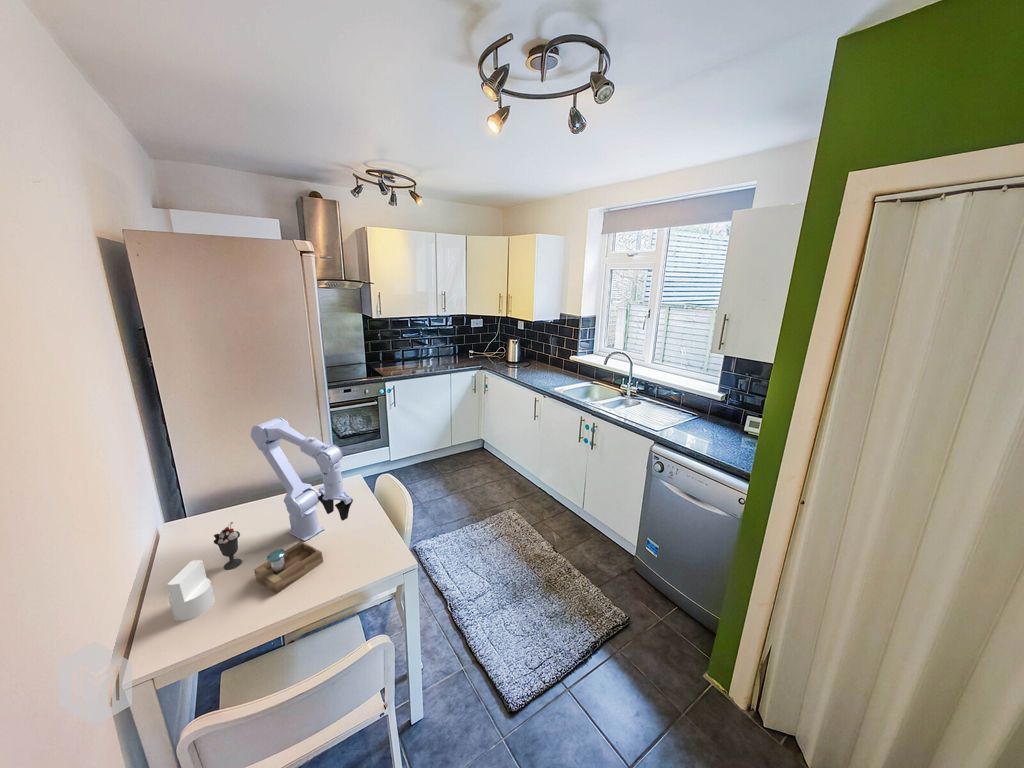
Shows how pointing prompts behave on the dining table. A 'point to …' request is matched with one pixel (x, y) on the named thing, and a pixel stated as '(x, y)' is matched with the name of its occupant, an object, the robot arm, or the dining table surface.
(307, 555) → the keyhole board
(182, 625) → the dining table surface
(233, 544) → the sundae
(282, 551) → the peg
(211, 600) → the base with upright slab
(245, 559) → the dining table surface
